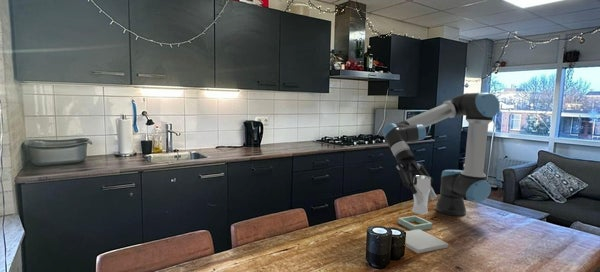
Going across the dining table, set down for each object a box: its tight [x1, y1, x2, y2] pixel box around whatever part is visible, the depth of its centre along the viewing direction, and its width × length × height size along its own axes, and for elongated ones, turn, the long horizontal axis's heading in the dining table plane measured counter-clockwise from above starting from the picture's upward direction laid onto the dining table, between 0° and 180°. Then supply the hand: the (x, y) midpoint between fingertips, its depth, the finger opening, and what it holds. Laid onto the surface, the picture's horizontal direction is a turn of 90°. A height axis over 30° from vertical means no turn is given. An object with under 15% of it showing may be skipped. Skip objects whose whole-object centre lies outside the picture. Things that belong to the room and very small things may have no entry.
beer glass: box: [411, 174, 432, 215], centre depth 132 cm, size 7×7×15 cm
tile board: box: [405, 229, 449, 254], centre depth 134 cm, size 16×16×2 cm
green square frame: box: [397, 215, 433, 231], centre depth 152 cm, size 11×11×2 cm
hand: (427, 199), depth 129 cm, fingers closed on beer glass, 7 cm apart
